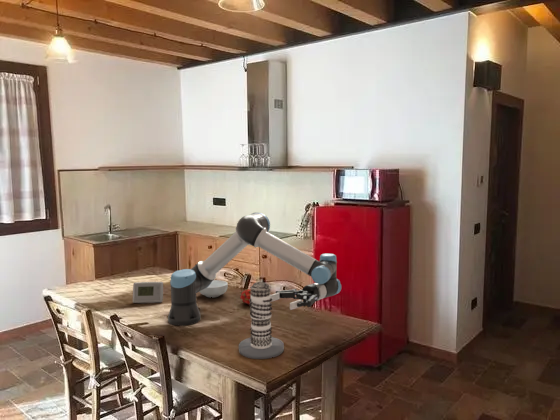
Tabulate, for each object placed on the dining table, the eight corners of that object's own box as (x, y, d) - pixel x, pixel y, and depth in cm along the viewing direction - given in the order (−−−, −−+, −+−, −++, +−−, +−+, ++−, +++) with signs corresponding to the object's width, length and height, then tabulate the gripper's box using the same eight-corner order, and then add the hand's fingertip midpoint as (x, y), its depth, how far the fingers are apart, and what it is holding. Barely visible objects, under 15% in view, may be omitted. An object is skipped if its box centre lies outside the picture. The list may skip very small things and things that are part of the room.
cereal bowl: (230, 298, 252) (230, 285, 251) (200, 301, 247) (199, 288, 246) (225, 290, 268) (224, 278, 267) (196, 292, 263) (196, 280, 262)
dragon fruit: (242, 303, 247) (257, 311, 239) (233, 297, 241) (249, 305, 233) (249, 289, 249) (265, 297, 241) (241, 283, 243) (257, 291, 235)
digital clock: (130, 303, 243) (130, 284, 242) (138, 298, 252) (137, 280, 251) (159, 304, 241) (159, 285, 240) (166, 299, 250) (165, 280, 249)
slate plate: (237, 359, 173) (237, 354, 173) (239, 341, 191) (239, 336, 190) (285, 358, 174) (285, 353, 174) (282, 340, 192) (282, 335, 191)
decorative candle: (271, 339, 187) (270, 279, 185) (274, 348, 178) (273, 286, 176) (249, 340, 186) (248, 280, 183) (250, 349, 177) (249, 287, 174)
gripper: (335, 306, 193) (300, 318, 179) (293, 294, 211) (259, 304, 197) (335, 289, 192) (300, 300, 178) (293, 278, 210) (258, 287, 196)
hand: (278, 302), depth 187 cm, fingers open, 13 cm apart
